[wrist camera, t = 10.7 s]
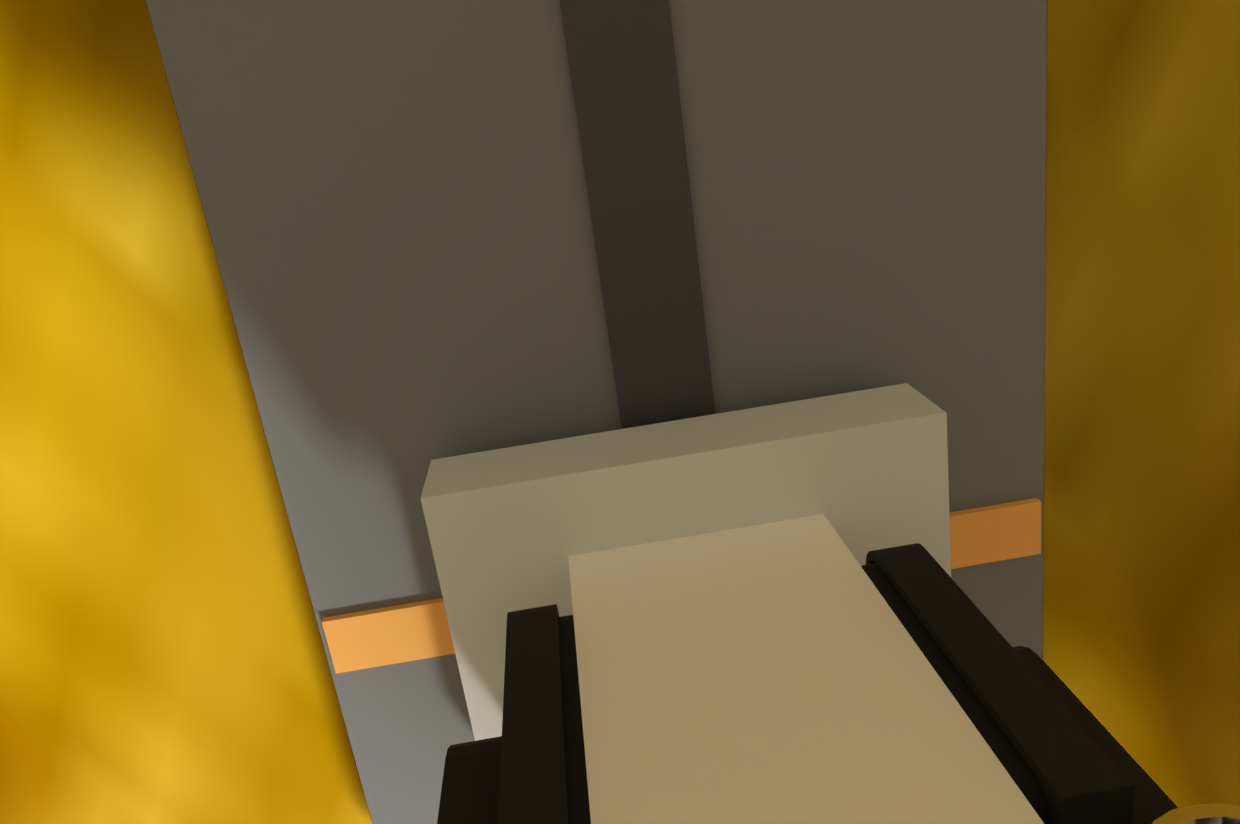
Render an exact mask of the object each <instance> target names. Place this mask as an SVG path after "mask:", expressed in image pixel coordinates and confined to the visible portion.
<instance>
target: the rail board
mask: <svg viewBox="0 0 1240 824" xmlns="http://www.w3.org/2000/svg"><path fill="white" fill-rule="evenodd" d="M146 3H147V7H148V11H149V14H150V18H151V22H152V25H153V29H154V32H155V36H156V40H157V43H158V47H159V51H160V54H161V58H162V61H163V65H164V69H165V72H166V76H167V80H168V83H169V87H170V91H171V94H172V98H173V101H174V105H175V109H176V112H177V116H178V120H179V123H180V127H181V130H182V134H183V138H184V141H185V145H186V149H187V152H188V156H189V159H190V163H191V167H192V170H193V174H194V178H195V181H196V185H197V188H198V192H199V196H200V199H201V203H202V207H203V210H204V214H205V217H206V221H207V225H208V228H209V232H210V236H211V239H212V243H213V247H214V250H215V254H216V257H217V261H218V265H219V268H220V272H221V276H222V279H223V283H224V286H225V290H226V294H227V297H228V301H229V305H230V308H231V312H232V315H233V319H234V323H235V326H236V330H237V334H238V337H239V341H240V344H241V348H242V352H243V355H244V359H245V363H246V366H247V370H248V373H249V377H250V381H251V384H252V388H253V392H254V395H255V399H256V403H257V406H258V410H259V413H260V417H261V421H262V424H263V428H264V432H265V435H266V439H267V442H268V446H269V450H270V453H271V457H272V461H273V464H274V468H275V471H276V475H277V479H278V482H279V486H280V490H281V493H282V497H283V500H284V504H285V508H286V511H287V515H288V519H289V522H290V526H291V529H292V533H293V537H294V540H295V544H296V548H297V551H298V555H299V559H300V562H301V566H302V569H303V573H304V577H305V580H306V584H307V588H308V591H309V595H310V598H311V602H312V606H313V609H314V613H315V617H316V620H317V624H318V627H319V631H320V635H321V638H322V642H323V646H324V649H325V653H326V656H327V660H328V664H329V667H330V671H331V675H332V678H333V682H334V685H335V689H336V693H337V696H338V700H339V704H340V707H341V711H342V715H343V718H344V722H345V725H346V729H347V733H348V736H349V740H350V744H351V747H352V751H353V754H354V758H355V762H356V765H357V769H358V773H359V776H360V780H361V783H362V787H363V791H364V794H365V798H366V802H367V805H368V809H369V812H370V816H371V820H372V823H373V824H437V820H438V812H439V805H440V797H441V789H442V781H443V773H444V765H445V758H446V754H447V749H448V748H449V747H450V745H454V744H460V743H466V742H471V741H475V739H474V734H473V730H472V725H471V721H470V717H469V712H468V708H467V703H466V699H465V694H464V690H463V685H462V681H461V676H460V672H459V668H458V663H457V659H456V654H455V650H454V645H453V641H452V636H451V632H450V628H449V623H448V619H447V614H446V610H445V605H444V601H443V596H442V592H441V587H440V583H439V579H438V574H437V570H436V565H435V561H434V556H433V552H432V547H431V543H430V539H429V534H428V530H427V525H426V521H425V516H424V512H423V507H422V503H421V495H422V491H423V488H424V484H425V480H426V477H427V473H428V469H429V466H430V462H431V460H433V459H439V458H445V457H452V456H458V455H464V454H470V453H476V452H483V451H489V450H495V449H501V448H507V447H514V446H520V445H526V444H532V443H538V442H545V441H551V440H557V439H563V438H569V437H576V436H582V435H588V434H594V433H600V432H607V431H613V430H619V429H625V428H631V427H637V426H644V425H650V424H656V423H662V422H668V421H675V420H681V419H687V418H693V417H699V416H706V415H712V414H718V413H724V412H730V411H737V410H743V409H749V408H755V407H761V406H768V405H774V404H780V403H786V402H792V401H799V400H805V399H811V398H817V397H823V396H830V395H836V394H842V393H848V392H854V391H860V390H867V389H873V388H879V387H885V386H891V385H898V384H904V383H907V384H909V385H910V386H911V387H913V388H914V389H915V390H917V391H918V392H919V393H921V394H922V395H924V396H925V397H926V398H928V399H929V400H930V401H932V402H933V403H934V404H936V405H937V406H938V407H940V408H941V409H942V410H944V411H945V412H946V413H947V446H948V480H949V515H950V550H951V578H952V579H953V581H954V582H955V583H956V584H957V585H958V586H959V587H960V588H961V590H962V591H963V592H964V593H965V594H966V595H967V596H968V598H969V599H970V600H971V601H972V602H973V603H974V604H975V605H976V607H977V608H978V609H979V610H980V611H981V612H982V613H983V614H984V616H985V617H986V618H987V619H988V620H989V621H990V622H991V624H992V625H993V626H994V627H995V628H996V629H997V630H998V631H999V633H1000V634H1001V635H1002V636H1003V637H1004V638H1005V639H1006V641H1007V642H1008V643H1009V644H1010V645H1011V646H1012V647H1016V646H1024V647H1029V648H1030V649H1031V650H1032V651H1034V652H1035V653H1036V654H1037V655H1038V656H1039V657H1040V658H1041V659H1042V660H1043V535H1044V375H1045V216H1046V56H1047V0H146Z"/></svg>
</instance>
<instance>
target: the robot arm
mask: <svg viewBox="0 0 1240 824" xmlns="http://www.w3.org/2000/svg"><path fill="white" fill-rule="evenodd" d="M861 567H862V569H863V570H864V571H865V573H866V574H867V576H868V577H869V578H870V580H871V581H872V583H873V584H874V585H875V587H876V588H877V590H878V591H879V592H880V594H881V595H882V597H883V598H884V600H885V601H886V602H887V604H888V605H889V607H890V608H891V609H892V611H893V612H894V614H895V615H896V616H897V618H898V619H899V621H900V622H901V623H902V625H903V626H904V628H905V629H906V630H907V632H908V633H909V635H910V636H911V637H912V639H913V640H914V642H915V643H916V644H917V646H918V647H919V649H920V650H921V651H922V653H923V654H924V656H925V657H926V658H927V660H928V661H929V663H930V664H931V665H932V667H933V668H934V670H935V671H936V672H937V674H938V675H939V677H940V678H941V680H942V681H943V682H944V684H945V685H946V687H947V688H948V689H949V691H950V692H951V694H952V695H953V696H954V698H955V699H956V701H957V702H958V703H959V705H960V706H961V708H962V709H963V710H964V712H965V713H966V715H967V716H968V717H969V719H970V720H971V722H972V723H973V724H974V726H975V727H976V729H977V730H978V731H979V733H980V734H981V736H982V737H983V738H984V740H985V741H986V743H987V744H988V745H989V747H990V748H991V750H992V751H993V752H994V754H995V755H996V757H997V758H998V759H999V761H1000V762H1001V764H1002V765H1003V767H1004V768H1005V769H1006V771H1007V772H1008V774H1009V775H1010V776H1011V778H1012V779H1013V781H1014V782H1015V783H1016V785H1017V786H1018V788H1019V789H1020V790H1021V792H1022V793H1023V795H1024V796H1025V797H1026V799H1027V800H1028V802H1029V803H1030V804H1031V806H1032V807H1033V809H1034V810H1035V811H1036V813H1037V814H1038V816H1039V817H1040V818H1041V820H1042V821H1043V823H1044V824H1240V806H1237V805H1232V804H1201V803H1198V804H1193V805H1189V806H1185V807H1180V808H1178V807H1177V806H1176V805H1175V804H1174V803H1173V802H1172V801H1171V800H1170V798H1169V797H1168V796H1167V795H1166V794H1165V793H1164V792H1163V791H1162V790H1161V789H1160V788H1159V786H1158V785H1157V784H1156V783H1155V782H1154V781H1153V780H1152V779H1151V778H1150V777H1149V776H1148V774H1147V773H1146V772H1145V771H1144V770H1143V769H1142V768H1141V767H1140V766H1139V765H1138V764H1137V762H1136V761H1135V760H1134V759H1133V758H1132V757H1131V756H1130V755H1129V754H1128V753H1127V752H1126V750H1125V749H1124V748H1123V747H1122V746H1121V745H1120V744H1119V743H1118V742H1117V741H1116V740H1115V738H1114V737H1113V736H1112V735H1111V734H1110V733H1109V732H1108V731H1107V730H1106V729H1105V728H1104V726H1103V725H1102V724H1101V723H1100V722H1099V721H1098V720H1097V719H1096V718H1095V717H1094V716H1093V714H1092V713H1091V712H1090V711H1089V710H1088V709H1087V708H1086V707H1085V706H1084V705H1083V704H1082V702H1081V701H1080V700H1079V699H1078V698H1077V697H1076V696H1075V695H1074V694H1073V693H1072V692H1071V690H1070V689H1069V688H1068V687H1067V686H1066V685H1065V684H1064V683H1063V682H1062V681H1061V680H1060V678H1059V677H1058V676H1057V675H1056V674H1055V673H1054V672H1053V671H1052V670H1051V669H1050V668H1049V666H1048V665H1047V664H1046V663H1045V662H1044V661H1043V660H1042V659H1041V658H1040V657H1039V656H1038V655H1037V654H1036V653H1035V652H1034V651H1032V650H1031V649H1030V648H1029V647H1024V646H1016V647H1012V646H1011V645H1010V644H1009V643H1008V642H1007V641H1006V639H1005V638H1004V637H1003V636H1002V635H1001V634H1000V633H999V631H998V630H997V629H996V628H995V627H994V626H993V625H992V624H991V622H990V621H989V620H988V619H987V618H986V617H985V616H984V614H983V613H982V612H981V611H980V610H979V609H978V608H977V607H976V605H975V604H974V603H973V602H972V601H971V600H970V599H969V598H968V596H967V595H966V594H965V593H964V592H963V591H962V590H961V588H960V587H959V586H958V585H957V584H956V583H955V582H954V581H953V579H952V578H951V577H950V576H949V575H948V574H947V573H946V571H945V570H944V569H943V568H942V567H941V566H940V565H939V564H938V562H937V561H936V560H935V559H934V558H933V557H932V556H931V554H930V553H929V552H928V551H927V550H926V549H925V548H924V547H923V546H922V545H921V544H920V543H915V544H909V545H903V546H897V547H891V548H885V549H879V550H873V551H869V552H868V554H867V556H866V565H862V566H861ZM437 824H591V818H590V806H589V794H588V783H587V771H586V759H585V747H584V736H583V724H582V712H581V700H580V689H579V677H578V665H577V654H576V642H575V630H574V618H573V615H567V616H561V617H560V616H559V611H558V607H557V604H554V605H548V606H542V607H536V608H530V609H524V610H518V611H512V612H508V613H507V628H506V651H505V673H504V696H503V719H502V736H500V737H494V738H488V739H483V740H477V741H471V742H466V743H460V744H454V745H450V747H449V748H448V749H447V754H446V758H445V765H444V773H443V781H442V789H441V797H440V805H439V812H438V820H437Z"/></svg>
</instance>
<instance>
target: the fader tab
mask: <svg viewBox="0 0 1240 824" xmlns="http://www.w3.org/2000/svg"><path fill="white" fill-rule="evenodd" d="M421 503H422V507H423V512H424V516H425V521H426V525H427V530H428V534H429V539H430V543H431V547H432V552H433V556H434V561H435V565H436V570H437V574H438V579H439V583H440V587H441V592H442V596H443V601H444V605H445V610H446V614H447V619H448V623H449V628H450V632H451V636H452V641H453V645H454V650H455V654H456V659H457V663H458V668H459V672H460V676H461V681H462V685H463V690H464V694H465V699H466V703H467V708H468V712H469V717H470V721H471V725H472V730H473V734H474V739H475V741H477V740H483V739H488V738H494V737H500V736H502V719H503V696H504V673H505V651H506V628H507V613H508V612H512V611H518V610H524V609H530V608H536V607H542V606H548V605H554V604H557V607H558V611H559V616H560V617H561V616H567V615H573V618H574V630H575V642H576V654H577V665H578V677H579V689H580V700H581V712H582V724H583V736H584V747H585V759H586V771H587V783H588V794H589V806H590V818H591V824H1044V823H1043V821H1042V820H1041V818H1040V817H1039V816H1038V814H1037V813H1036V811H1035V810H1034V809H1033V807H1032V806H1031V804H1030V803H1029V802H1028V800H1027V799H1026V797H1025V796H1024V795H1023V793H1022V792H1021V790H1020V789H1019V788H1018V786H1017V785H1016V783H1015V782H1014V781H1013V779H1012V778H1011V776H1010V775H1009V774H1008V772H1007V771H1006V769H1005V768H1004V767H1003V765H1002V764H1001V762H1000V761H999V759H998V758H997V757H996V755H995V754H994V752H993V751H992V750H991V748H990V747H989V745H988V744H987V743H986V741H985V740H984V738H983V737H982V736H981V734H980V733H979V731H978V730H977V729H976V727H975V726H974V724H973V723H972V722H971V720H970V719H969V717H968V716H967V715H966V713H965V712H964V710H963V709H962V708H961V706H960V705H959V703H958V702H957V701H956V699H955V698H954V696H953V695H952V694H951V692H950V691H949V689H948V688H947V687H946V685H945V684H944V682H943V681H942V680H941V678H940V677H939V675H938V674H937V672H936V671H935V670H934V668H933V667H932V665H931V664H930V663H929V661H928V660H927V658H926V657H925V656H924V654H923V653H922V651H921V650H920V649H919V647H918V646H917V644H916V643H915V642H914V640H913V639H912V637H911V636H910V635H909V633H908V632H907V630H906V629H905V628H904V626H903V625H902V623H901V622H900V621H899V619H898V618H897V616H896V615H895V614H894V612H893V611H892V609H891V608H890V607H889V605H888V604H887V602H886V601H885V600H884V598H883V597H882V595H881V594H880V592H879V591H878V590H877V588H876V587H875V585H874V584H873V583H872V581H871V580H870V578H869V577H868V576H867V574H866V573H865V571H864V570H863V569H862V567H861V566H862V565H866V556H867V554H868V552H869V551H873V550H879V549H885V548H891V547H897V546H903V545H909V544H915V543H920V544H921V545H922V546H923V547H924V548H925V549H926V550H927V551H928V552H929V553H930V554H931V556H932V557H933V558H934V559H935V560H936V561H937V562H938V564H939V565H940V566H941V567H942V568H943V569H944V570H945V571H946V573H947V574H948V575H949V576H950V577H951V550H950V515H949V480H948V446H947V413H946V412H945V411H944V410H942V409H941V408H940V407H938V406H937V405H936V404H934V403H933V402H932V401H930V400H929V399H928V398H926V397H925V396H924V395H922V394H921V393H919V392H918V391H917V390H915V389H914V388H913V387H911V386H910V385H909V384H907V383H904V384H898V385H891V386H885V387H879V388H873V389H867V390H860V391H854V392H848V393H842V394H836V395H830V396H823V397H817V398H811V399H805V400H799V401H792V402H786V403H780V404H774V405H768V406H761V407H755V408H749V409H743V410H737V411H730V412H724V413H718V414H712V415H706V416H699V417H693V418H687V419H681V420H675V421H668V422H662V423H656V424H650V425H644V426H637V427H631V428H625V429H619V430H613V431H607V432H600V433H594V434H588V435H582V436H576V437H569V438H563V439H557V440H551V441H545V442H538V443H532V444H526V445H520V446H514V447H507V448H501V449H495V450H489V451H483V452H476V453H470V454H464V455H458V456H452V457H445V458H439V459H433V460H431V462H430V466H429V469H428V473H427V477H426V480H425V484H424V488H423V491H422V495H421Z"/></svg>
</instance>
